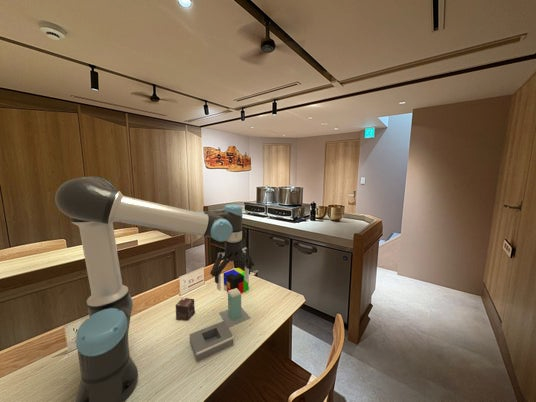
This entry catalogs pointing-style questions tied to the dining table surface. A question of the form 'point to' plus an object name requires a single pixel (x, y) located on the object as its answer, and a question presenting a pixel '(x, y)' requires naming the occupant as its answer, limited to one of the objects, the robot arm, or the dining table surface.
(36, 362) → the dining table surface
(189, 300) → the box
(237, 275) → the puzzle toy
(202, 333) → the frame
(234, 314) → the plug
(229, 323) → the mat
